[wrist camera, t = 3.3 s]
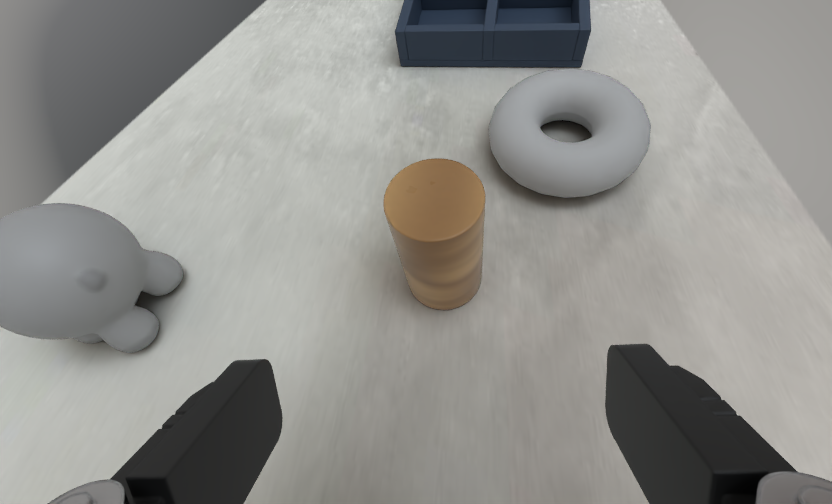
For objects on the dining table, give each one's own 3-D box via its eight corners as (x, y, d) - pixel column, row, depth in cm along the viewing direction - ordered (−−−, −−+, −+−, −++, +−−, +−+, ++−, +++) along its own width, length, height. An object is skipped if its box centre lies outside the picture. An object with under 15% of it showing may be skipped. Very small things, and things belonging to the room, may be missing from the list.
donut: (458, 159, 29) (582, 236, 24) (456, 121, 26) (597, 202, 21) (544, 81, 31) (670, 138, 27) (551, 39, 28) (693, 96, 24)
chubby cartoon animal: (66, 237, 29) (-71, 158, 22) (206, 263, 27) (105, 184, 19) (-2, 331, 26) (-189, 276, 19) (150, 372, 24) (2, 326, 16)
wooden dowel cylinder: (484, 247, 25) (489, 160, 18) (477, 314, 23) (480, 246, 16) (414, 241, 26) (393, 155, 19) (402, 305, 24) (373, 237, 17)
